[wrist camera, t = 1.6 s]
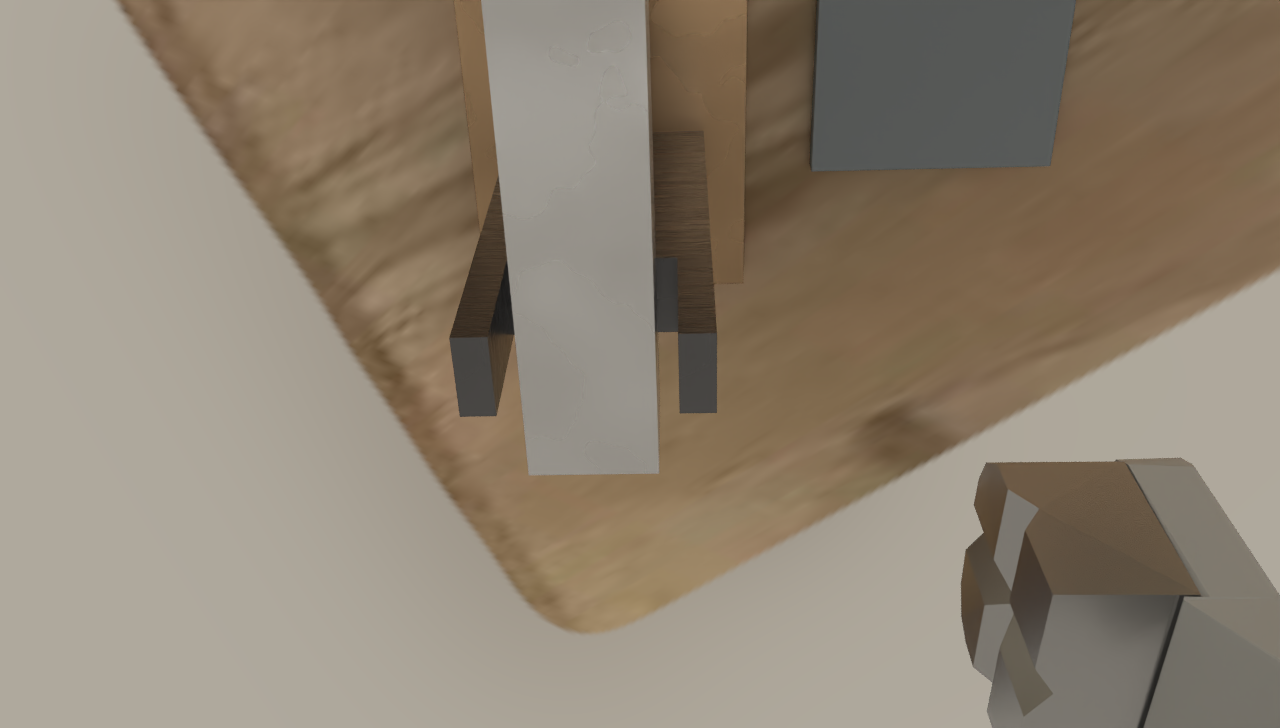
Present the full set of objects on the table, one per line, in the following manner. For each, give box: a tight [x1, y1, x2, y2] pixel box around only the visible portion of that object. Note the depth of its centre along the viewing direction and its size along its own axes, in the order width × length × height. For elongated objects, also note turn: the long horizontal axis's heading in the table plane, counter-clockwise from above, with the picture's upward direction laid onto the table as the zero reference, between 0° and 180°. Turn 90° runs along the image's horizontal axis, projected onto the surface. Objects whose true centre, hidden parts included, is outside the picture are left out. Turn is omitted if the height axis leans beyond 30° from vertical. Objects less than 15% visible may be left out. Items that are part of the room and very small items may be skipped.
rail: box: [481, 0, 660, 475], centre depth 24 cm, size 20×3×3 cm, turn 2°
